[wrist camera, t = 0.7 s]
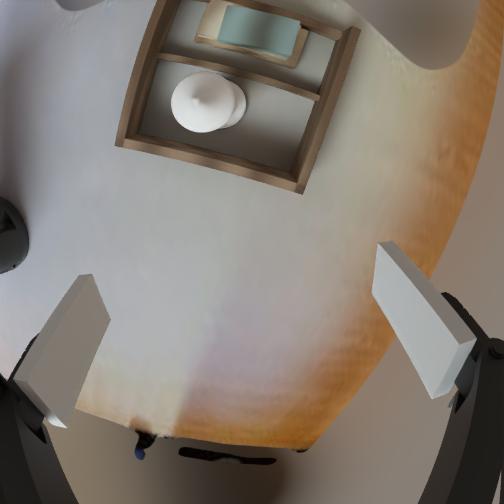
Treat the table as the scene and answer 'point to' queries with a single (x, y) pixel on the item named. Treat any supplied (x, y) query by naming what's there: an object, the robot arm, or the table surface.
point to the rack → (323, 100)
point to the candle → (207, 102)
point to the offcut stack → (251, 33)
